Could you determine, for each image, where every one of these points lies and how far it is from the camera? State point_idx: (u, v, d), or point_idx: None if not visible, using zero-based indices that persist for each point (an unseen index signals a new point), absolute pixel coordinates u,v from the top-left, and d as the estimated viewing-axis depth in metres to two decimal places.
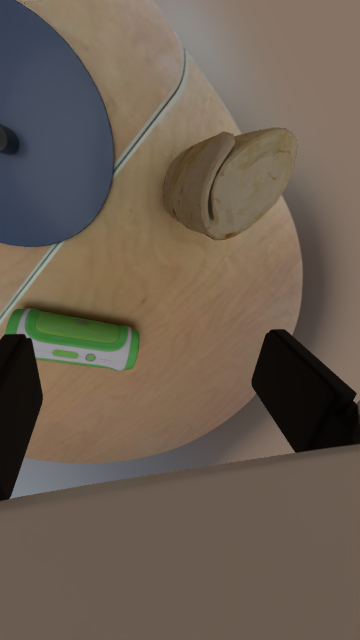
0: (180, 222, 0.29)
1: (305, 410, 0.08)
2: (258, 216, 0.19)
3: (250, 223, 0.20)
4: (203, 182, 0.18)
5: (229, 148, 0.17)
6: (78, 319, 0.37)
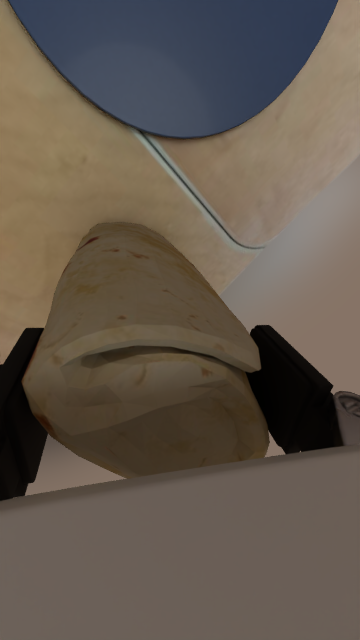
0: None
1: (286, 403, 0.09)
2: (110, 469, 0.07)
3: (90, 459, 0.07)
4: (180, 321, 0.07)
5: (251, 370, 0.07)
6: None
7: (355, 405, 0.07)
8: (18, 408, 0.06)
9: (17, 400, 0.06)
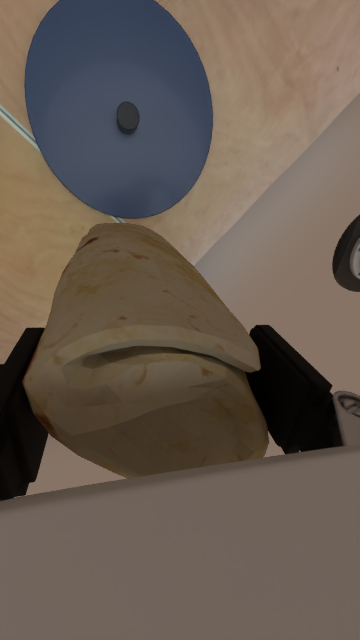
0: None
1: (285, 402, 0.09)
2: (111, 469, 0.08)
3: (91, 458, 0.07)
4: (181, 322, 0.07)
5: (250, 370, 0.07)
6: None
7: (354, 405, 0.07)
8: (19, 408, 0.06)
9: (18, 400, 0.06)
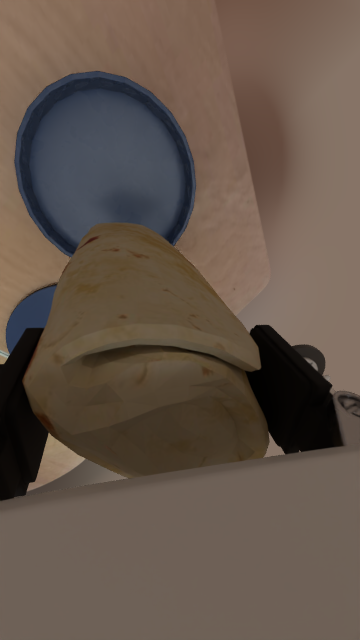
0: None
1: (285, 403, 0.09)
2: (111, 468, 0.08)
3: (91, 458, 0.07)
4: (181, 321, 0.07)
5: (251, 369, 0.07)
6: None
7: (354, 405, 0.07)
8: (19, 408, 0.06)
9: (18, 400, 0.06)
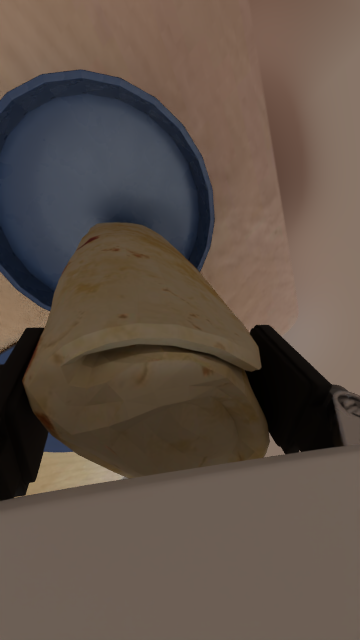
0: None
1: (285, 402, 0.09)
2: (110, 468, 0.07)
3: (91, 458, 0.07)
4: (181, 320, 0.07)
5: (251, 369, 0.07)
6: None
7: (354, 405, 0.07)
8: (19, 408, 0.06)
9: (18, 400, 0.06)
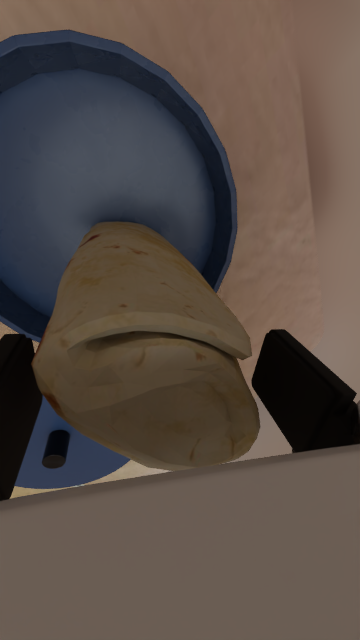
0: None
1: (305, 410, 0.08)
2: (111, 448, 0.08)
3: (93, 437, 0.08)
4: (177, 310, 0.07)
5: (241, 356, 0.08)
6: None
7: None
8: None
9: None
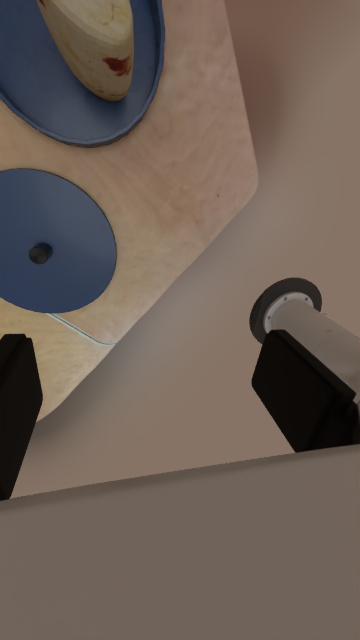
0: None
1: (305, 410, 0.08)
2: None
3: None
4: None
5: None
6: None
7: None
8: None
9: None
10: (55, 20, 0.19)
